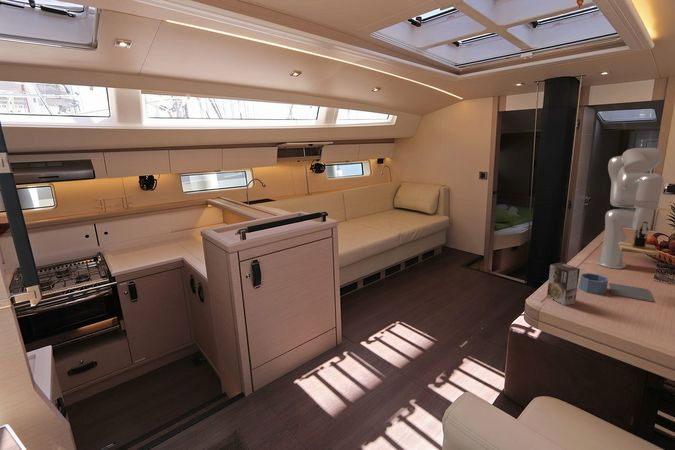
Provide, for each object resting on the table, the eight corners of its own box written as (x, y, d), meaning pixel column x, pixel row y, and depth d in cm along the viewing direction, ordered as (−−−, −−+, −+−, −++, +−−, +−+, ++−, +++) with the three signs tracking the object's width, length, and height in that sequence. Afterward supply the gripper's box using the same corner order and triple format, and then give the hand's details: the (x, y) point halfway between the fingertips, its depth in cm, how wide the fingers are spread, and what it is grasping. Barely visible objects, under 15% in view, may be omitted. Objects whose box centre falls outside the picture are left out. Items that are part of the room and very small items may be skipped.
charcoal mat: (608, 283, 159) (609, 282, 159) (647, 290, 151) (647, 289, 151) (611, 294, 148) (611, 293, 148) (653, 302, 140) (653, 301, 140)
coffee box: (575, 303, 141) (581, 268, 138) (564, 306, 140) (569, 271, 136) (556, 294, 150) (561, 261, 146) (545, 296, 148) (550, 263, 144)
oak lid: (618, 243, 152) (621, 229, 151) (653, 247, 146) (656, 232, 144) (621, 251, 143) (624, 235, 141) (658, 255, 136) (662, 239, 134)
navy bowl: (578, 283, 161) (580, 271, 159) (604, 287, 155) (606, 275, 154) (579, 290, 153) (580, 279, 151) (606, 295, 147) (608, 283, 146)
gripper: (631, 200, 148) (624, 239, 153) (637, 207, 135) (629, 248, 139) (654, 201, 144) (646, 241, 148) (662, 208, 131) (653, 251, 135)
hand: (638, 244), depth 144 cm, fingers closed on oak lid, 4 cm apart
